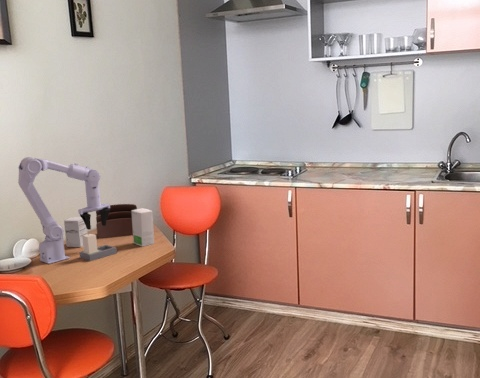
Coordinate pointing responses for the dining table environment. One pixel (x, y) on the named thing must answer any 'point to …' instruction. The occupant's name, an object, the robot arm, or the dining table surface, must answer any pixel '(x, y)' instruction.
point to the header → (99, 253)
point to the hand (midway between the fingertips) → (96, 227)
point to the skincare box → (142, 227)
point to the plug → (90, 243)
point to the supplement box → (74, 231)
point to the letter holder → (116, 221)
